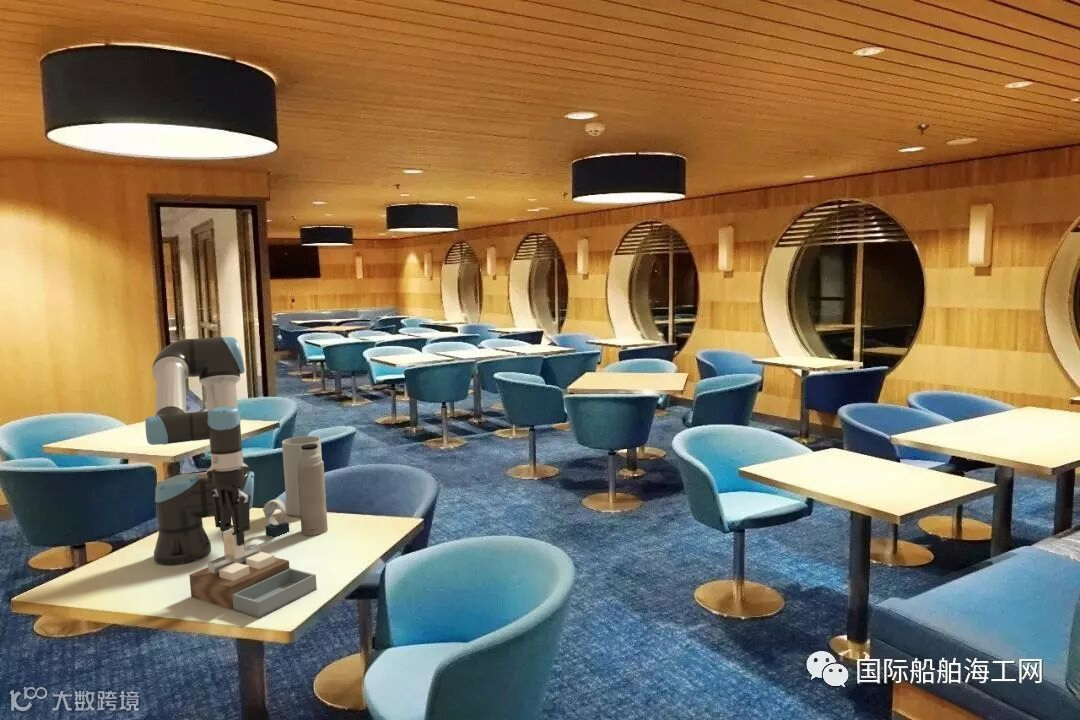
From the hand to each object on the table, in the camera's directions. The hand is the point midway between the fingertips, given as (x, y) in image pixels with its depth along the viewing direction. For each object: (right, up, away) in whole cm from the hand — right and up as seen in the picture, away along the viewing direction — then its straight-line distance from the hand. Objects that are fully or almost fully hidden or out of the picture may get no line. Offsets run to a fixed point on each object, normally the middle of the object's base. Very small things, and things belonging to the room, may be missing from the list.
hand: (234, 555), depth 193 cm
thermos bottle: (+8, -4, +43) cm, 44 cm away
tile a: (+2, -4, -5) cm, 7 cm away
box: (+13, -9, -6) cm, 17 cm away
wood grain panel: (+2, -9, 0) cm, 9 cm away
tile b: (+6, -3, +2) cm, 7 cm away
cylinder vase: (-1, -2, +63) cm, 63 cm away
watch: (-3, -4, +41) cm, 42 cm away
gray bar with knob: (0, -2, 0) cm, 2 cm away
